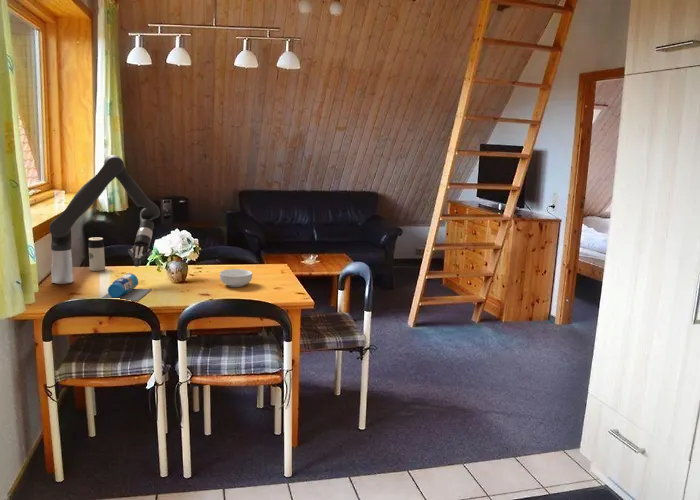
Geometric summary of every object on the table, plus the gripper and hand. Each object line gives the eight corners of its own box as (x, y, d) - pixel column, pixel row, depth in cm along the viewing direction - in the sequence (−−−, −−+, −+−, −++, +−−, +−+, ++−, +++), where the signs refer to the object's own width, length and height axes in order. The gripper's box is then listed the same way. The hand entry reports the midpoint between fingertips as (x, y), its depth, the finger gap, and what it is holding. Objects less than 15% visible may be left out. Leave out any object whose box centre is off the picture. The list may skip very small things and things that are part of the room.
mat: (98, 300, 272) (98, 299, 272) (115, 289, 293) (115, 288, 293) (137, 301, 273) (137, 300, 273) (151, 290, 293) (151, 289, 293)
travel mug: (102, 267, 337) (100, 236, 334) (107, 270, 332) (105, 238, 328) (87, 269, 332) (86, 238, 329) (92, 271, 326) (91, 240, 323)
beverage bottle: (134, 291, 294) (119, 302, 275) (119, 284, 294) (102, 294, 274) (141, 277, 293) (126, 287, 273) (126, 269, 292) (110, 279, 273)
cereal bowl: (232, 291, 296) (232, 277, 295) (213, 285, 307) (213, 271, 306) (258, 285, 309) (258, 272, 307) (239, 280, 320) (239, 267, 318)
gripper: (129, 233, 303) (121, 261, 293) (154, 234, 303) (147, 262, 293) (133, 241, 309) (125, 269, 299) (158, 242, 309) (151, 270, 299)
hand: (136, 265), depth 296 cm, fingers closed
